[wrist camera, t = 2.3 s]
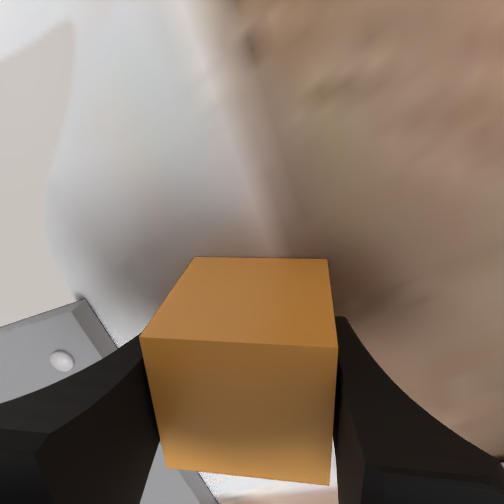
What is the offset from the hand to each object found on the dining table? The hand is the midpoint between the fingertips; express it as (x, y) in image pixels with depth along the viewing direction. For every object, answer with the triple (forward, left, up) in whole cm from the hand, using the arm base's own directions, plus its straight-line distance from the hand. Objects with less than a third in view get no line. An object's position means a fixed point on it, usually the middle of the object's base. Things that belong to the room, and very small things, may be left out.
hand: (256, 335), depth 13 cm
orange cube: (0, 0, -1) cm, 1 cm away
